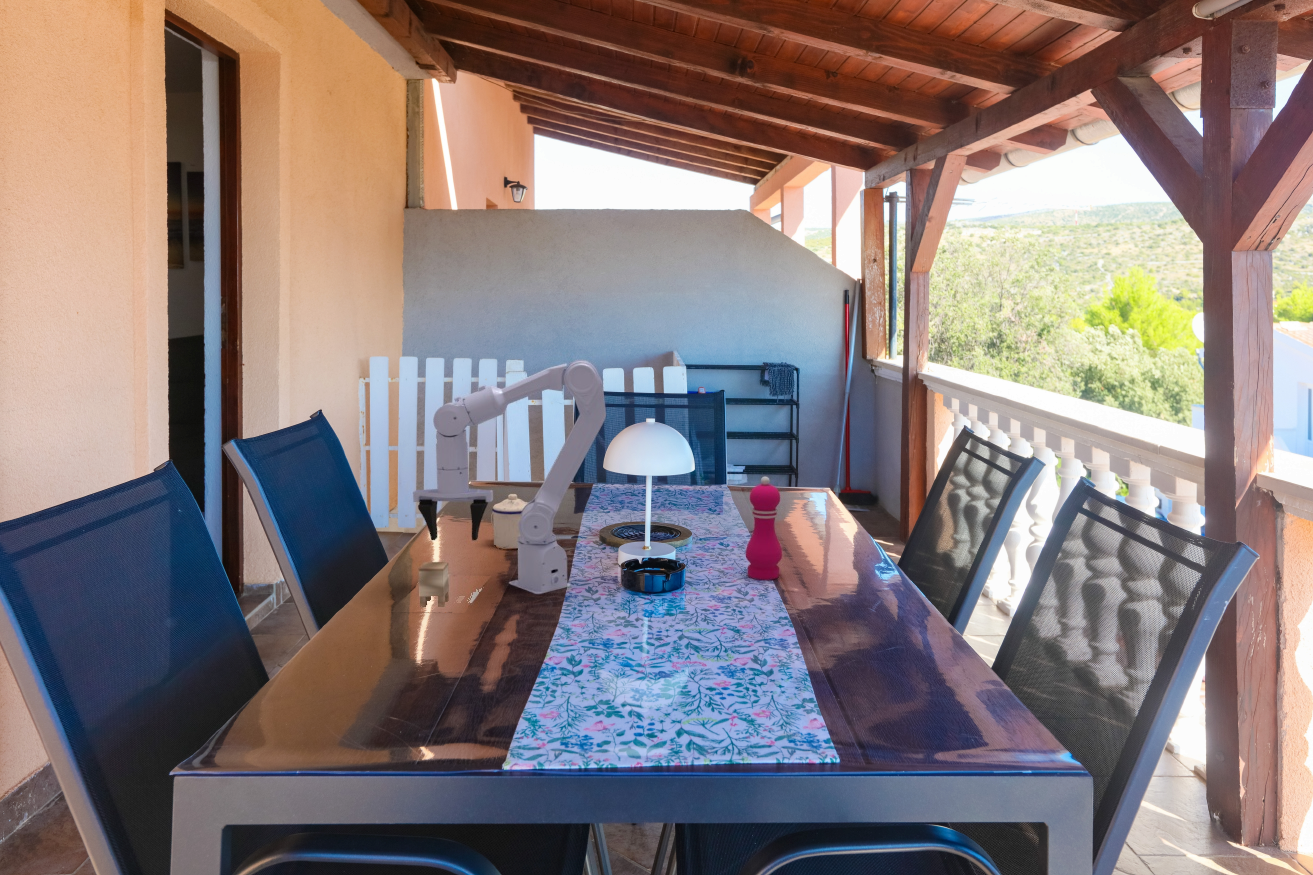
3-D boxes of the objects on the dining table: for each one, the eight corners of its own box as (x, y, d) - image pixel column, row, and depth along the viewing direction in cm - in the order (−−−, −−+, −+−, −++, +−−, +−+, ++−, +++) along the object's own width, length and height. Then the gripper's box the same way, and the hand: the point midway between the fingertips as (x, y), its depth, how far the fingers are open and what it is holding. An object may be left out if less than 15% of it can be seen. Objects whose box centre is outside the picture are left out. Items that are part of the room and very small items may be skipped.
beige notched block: (449, 600, 158) (448, 561, 157) (444, 607, 154) (442, 568, 153) (425, 600, 158) (424, 561, 157) (419, 607, 154) (418, 568, 153)
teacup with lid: (542, 545, 200) (541, 494, 198) (510, 552, 193) (509, 500, 191) (508, 536, 208) (507, 487, 206) (476, 543, 201) (475, 493, 199)
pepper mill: (780, 581, 172) (782, 480, 170) (743, 579, 174) (745, 479, 171) (782, 571, 179) (785, 474, 177) (747, 569, 181) (748, 472, 178)
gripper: (495, 464, 169) (497, 533, 170) (419, 464, 169) (421, 533, 170) (488, 470, 162) (490, 543, 163) (409, 470, 162) (411, 542, 163)
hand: (454, 539), depth 166 cm, fingers open, 7 cm apart
